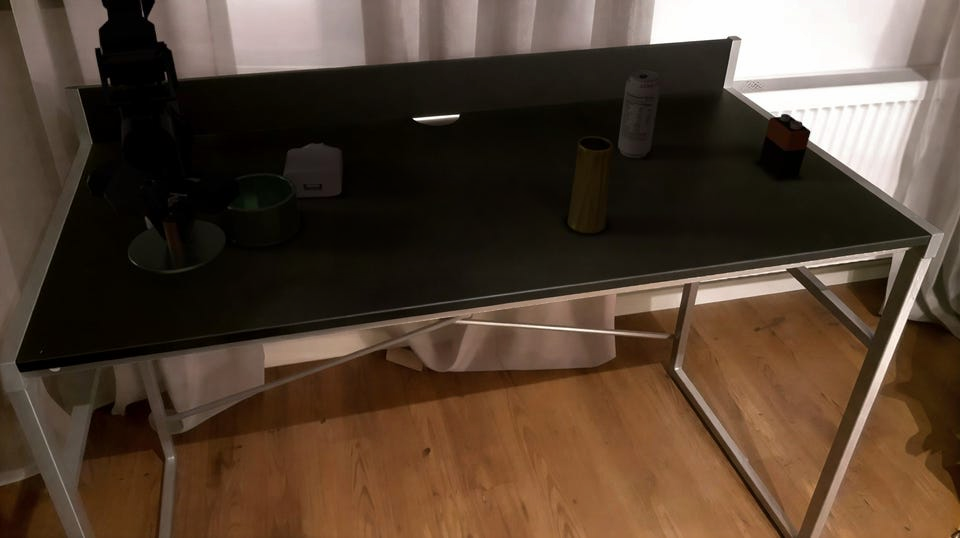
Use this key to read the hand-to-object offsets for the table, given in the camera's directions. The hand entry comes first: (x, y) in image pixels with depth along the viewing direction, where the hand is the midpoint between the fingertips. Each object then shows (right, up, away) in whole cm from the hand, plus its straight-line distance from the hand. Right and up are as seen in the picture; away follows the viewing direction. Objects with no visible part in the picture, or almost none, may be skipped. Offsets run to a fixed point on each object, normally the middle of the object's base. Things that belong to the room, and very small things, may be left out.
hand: (176, 240), depth 108 cm
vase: (+58, +3, +20) cm, 62 cm away
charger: (+12, +12, +31) cm, 36 cm away
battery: (+95, +14, +36) cm, 103 cm away
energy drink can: (+70, +18, +41) cm, 83 cm away
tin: (+7, +3, +17) cm, 19 cm away
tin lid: (0, -1, +1) cm, 1 cm away
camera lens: (-7, +2, +16) cm, 17 cm away
